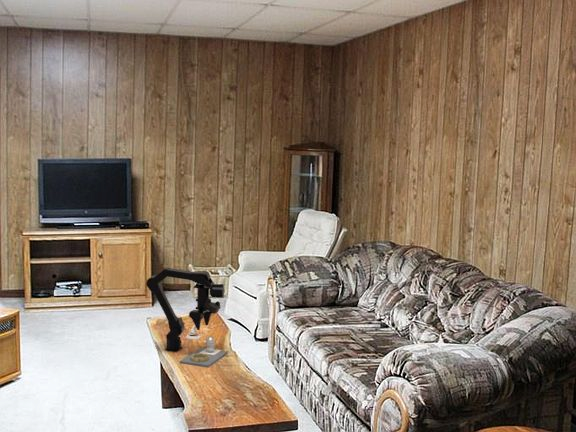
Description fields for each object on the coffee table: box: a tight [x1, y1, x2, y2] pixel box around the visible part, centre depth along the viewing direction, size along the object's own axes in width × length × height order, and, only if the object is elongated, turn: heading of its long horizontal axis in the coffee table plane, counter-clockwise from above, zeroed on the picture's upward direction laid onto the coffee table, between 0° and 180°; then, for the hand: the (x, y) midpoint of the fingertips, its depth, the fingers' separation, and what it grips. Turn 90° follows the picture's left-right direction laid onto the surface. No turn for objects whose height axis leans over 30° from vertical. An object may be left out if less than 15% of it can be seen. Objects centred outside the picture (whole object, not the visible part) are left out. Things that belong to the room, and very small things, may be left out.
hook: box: [185, 324, 202, 340], centre depth 362 cm, size 8×12×7 cm
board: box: [179, 347, 229, 368], centre depth 330 cm, size 15×22×1 cm
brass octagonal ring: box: [190, 353, 209, 362], centre depth 325 cm, size 8×8×2 cm
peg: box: [205, 336, 215, 353], centre depth 336 cm, size 4×4×7 cm
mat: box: [200, 348, 222, 356], centre depth 336 cm, size 8×8×1 cm
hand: (202, 327), depth 340 cm, fingers open, 9 cm apart
